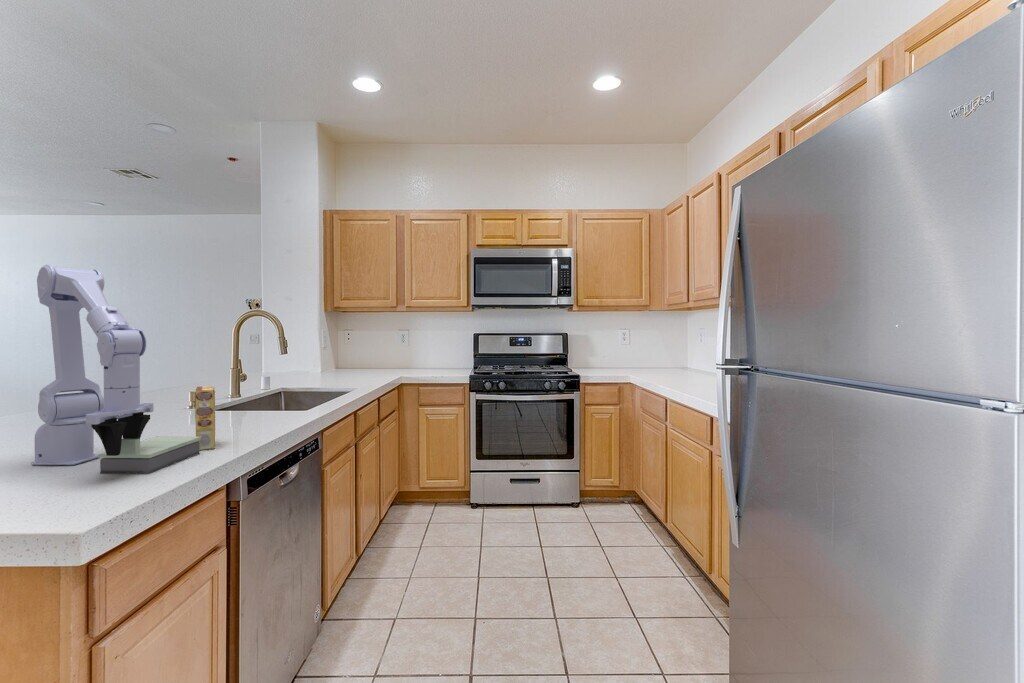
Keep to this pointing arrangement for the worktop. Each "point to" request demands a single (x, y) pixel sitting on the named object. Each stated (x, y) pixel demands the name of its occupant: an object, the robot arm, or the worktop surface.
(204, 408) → the candy box
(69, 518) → the worktop surface
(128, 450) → the lid
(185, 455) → the tub
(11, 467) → the worktop surface
